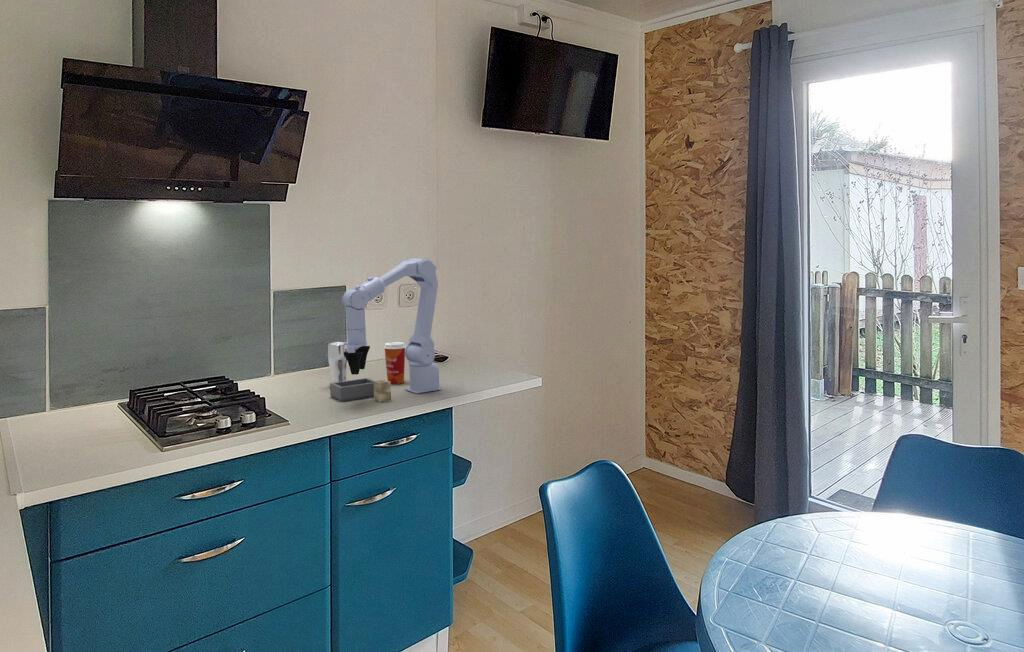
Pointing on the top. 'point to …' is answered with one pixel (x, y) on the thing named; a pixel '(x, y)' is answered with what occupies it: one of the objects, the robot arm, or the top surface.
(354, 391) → the grey rectangular open box
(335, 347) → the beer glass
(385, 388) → the birch block
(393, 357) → the paper cup
